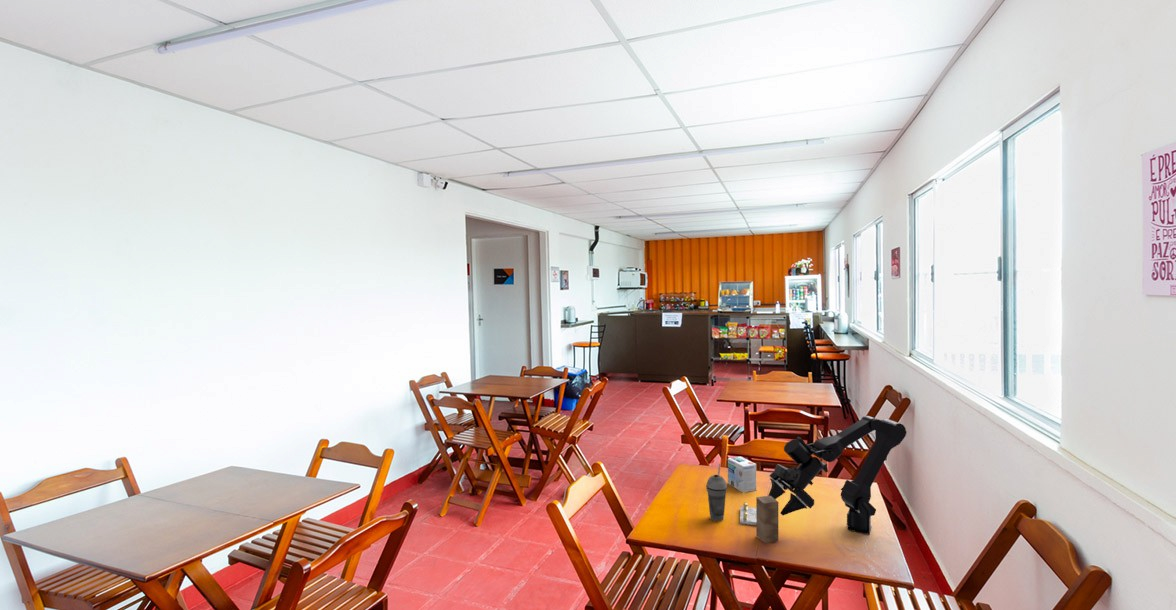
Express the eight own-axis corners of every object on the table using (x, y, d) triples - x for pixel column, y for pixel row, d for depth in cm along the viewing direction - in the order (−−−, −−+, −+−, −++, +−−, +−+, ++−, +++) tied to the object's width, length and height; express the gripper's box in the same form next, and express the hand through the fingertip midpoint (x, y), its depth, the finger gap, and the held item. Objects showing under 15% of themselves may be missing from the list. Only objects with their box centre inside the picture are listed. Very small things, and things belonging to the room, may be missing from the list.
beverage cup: (710, 512, 193) (709, 458, 192) (730, 516, 190) (729, 461, 189) (703, 520, 187) (703, 464, 186) (724, 525, 183) (723, 468, 182)
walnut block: (770, 534, 176) (770, 495, 176) (778, 541, 171) (778, 501, 171) (756, 535, 175) (756, 496, 175) (764, 543, 171) (763, 503, 170)
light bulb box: (727, 483, 220) (726, 458, 220) (740, 481, 223) (740, 455, 222) (743, 493, 210) (743, 466, 210) (757, 490, 213) (757, 463, 212)
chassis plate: (774, 512, 192) (774, 504, 192) (776, 527, 181) (776, 518, 180) (740, 509, 196) (740, 500, 195) (740, 523, 184) (740, 514, 184)
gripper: (775, 447, 183) (744, 481, 181) (805, 466, 164) (772, 504, 163) (796, 468, 184) (766, 502, 183) (828, 489, 166) (796, 527, 165)
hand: (774, 508), depth 173 cm, fingers open, 9 cm apart
